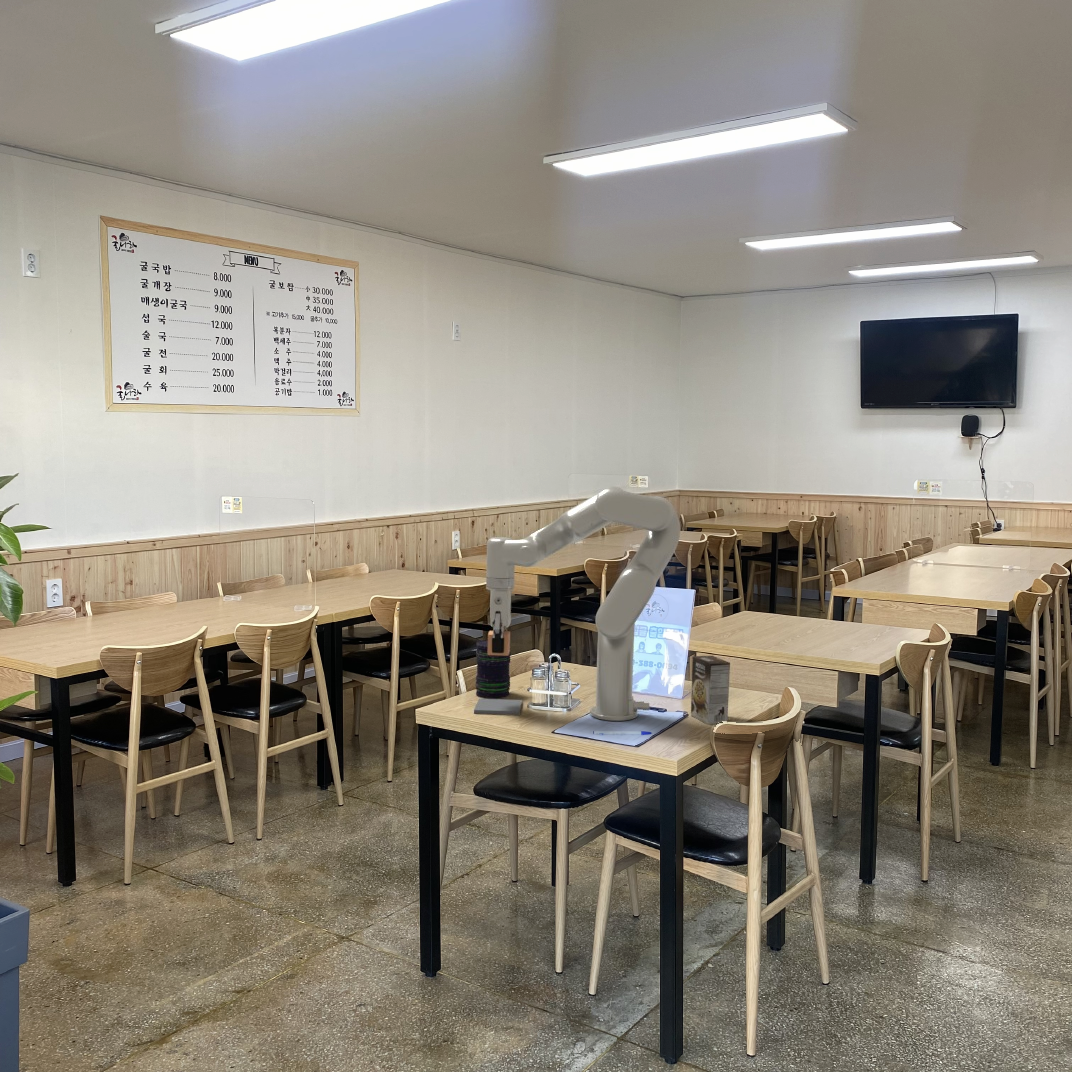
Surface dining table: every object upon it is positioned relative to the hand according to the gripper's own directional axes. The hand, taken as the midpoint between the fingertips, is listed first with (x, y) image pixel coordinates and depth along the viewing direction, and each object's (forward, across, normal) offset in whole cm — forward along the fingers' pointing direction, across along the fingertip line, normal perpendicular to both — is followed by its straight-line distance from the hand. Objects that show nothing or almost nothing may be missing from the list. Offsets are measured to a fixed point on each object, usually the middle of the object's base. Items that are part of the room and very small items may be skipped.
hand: (498, 649), depth 267 cm
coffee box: (+16, -4, -56) cm, 59 cm away
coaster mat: (+16, 0, 0) cm, 16 cm away
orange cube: (+1, 0, 0) cm, 1 cm away
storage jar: (+16, +15, +3) cm, 22 cm away
